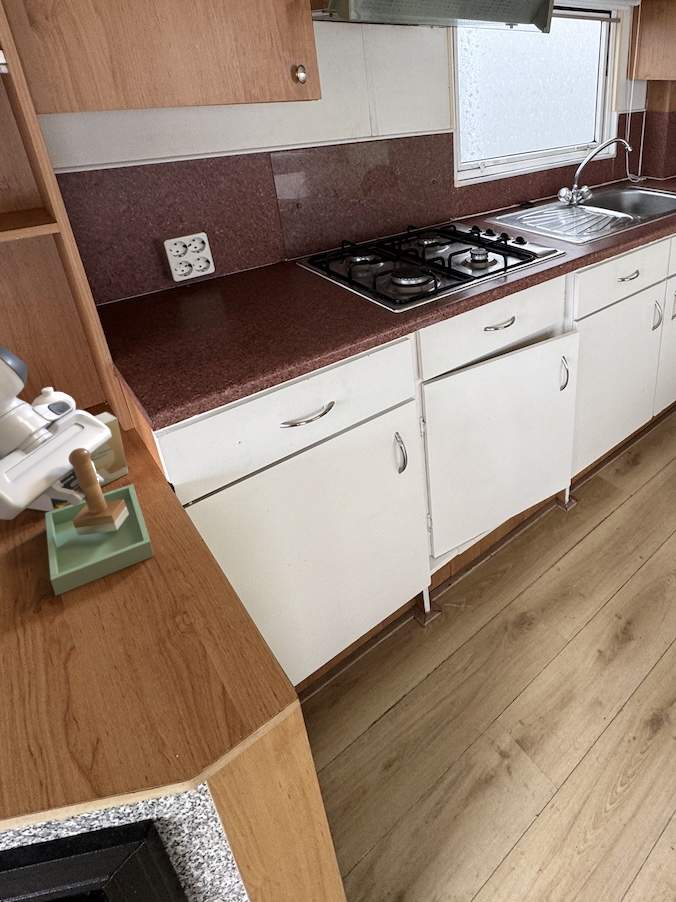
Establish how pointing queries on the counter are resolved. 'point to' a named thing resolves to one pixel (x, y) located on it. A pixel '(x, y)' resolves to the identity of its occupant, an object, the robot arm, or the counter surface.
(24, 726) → the counter surface
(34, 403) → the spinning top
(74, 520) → the stamp
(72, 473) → the medicine bottle
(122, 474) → the cosmetic box
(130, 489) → the tray
